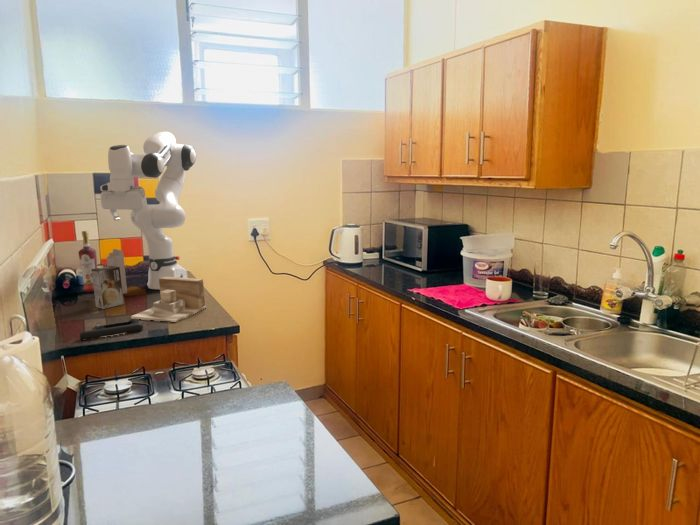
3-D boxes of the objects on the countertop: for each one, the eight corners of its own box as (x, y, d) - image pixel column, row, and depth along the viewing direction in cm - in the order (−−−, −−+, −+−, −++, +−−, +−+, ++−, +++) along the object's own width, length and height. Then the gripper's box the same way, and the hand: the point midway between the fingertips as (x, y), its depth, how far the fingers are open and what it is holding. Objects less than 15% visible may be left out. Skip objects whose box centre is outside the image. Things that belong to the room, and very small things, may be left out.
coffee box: (116, 302, 226) (112, 265, 223) (124, 304, 222) (120, 266, 219) (95, 306, 219) (90, 268, 216) (103, 309, 215) (98, 270, 212)
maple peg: (168, 309, 210) (166, 289, 208) (177, 310, 209) (175, 290, 207) (161, 312, 206) (160, 292, 205) (170, 312, 205) (168, 292, 203)
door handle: (76, 324, 189) (79, 334, 175) (136, 315, 199) (143, 324, 185) (77, 333, 190) (81, 343, 176) (137, 324, 199) (144, 333, 186)
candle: (94, 298, 233) (89, 253, 229) (118, 290, 246) (114, 248, 242) (107, 299, 231) (102, 254, 227) (130, 291, 243) (126, 248, 240)
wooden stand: (165, 304, 221) (163, 276, 218) (207, 308, 214) (205, 279, 212) (131, 318, 202) (128, 288, 199) (175, 323, 195) (172, 291, 193)
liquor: (102, 288, 250) (96, 230, 244) (97, 292, 243) (90, 232, 237) (86, 289, 249) (79, 230, 243) (80, 293, 242) (73, 232, 236)
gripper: (149, 185, 213) (152, 220, 216) (108, 185, 219) (111, 219, 222) (138, 186, 207) (141, 222, 210) (96, 186, 213) (100, 220, 216)
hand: (125, 220), depth 216 cm, fingers open, 8 cm apart
